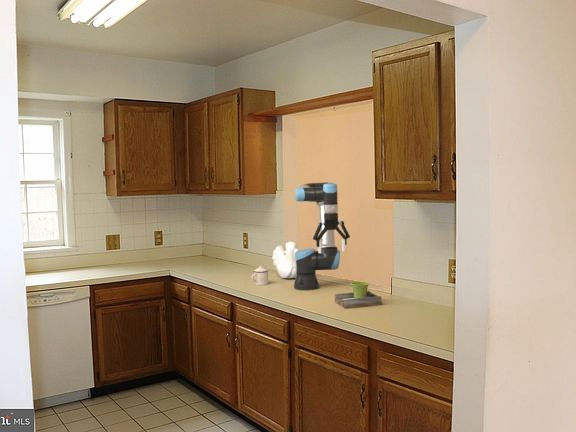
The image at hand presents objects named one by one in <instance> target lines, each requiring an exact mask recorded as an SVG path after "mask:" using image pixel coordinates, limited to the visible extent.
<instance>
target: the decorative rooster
mask: <svg viewBox="0 0 576 432" xmlns="http://www.w3.org/2000/svg"><path fill="white" fill-rule="evenodd" d="M298 251H300V250H299V248H298V246H297V244H296V242H294V241H288V242H286V243H285V250H284V247H283V245H278V246H276V247H275V249H274V250H273V252H272V257H271V258H272V263H273V266H274V267H275V268H276V271H277V274H278V275H279V277H280V278H282V279H296V275H297V273H296V253H297V252H298Z"/></svg>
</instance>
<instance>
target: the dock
mask: <svg viewBox="0 0 576 432" xmlns="http://www.w3.org/2000/svg"><path fill="white" fill-rule="evenodd" d="M334 303H335V304H337V305H338V306H340V307H342V308H343V309H345V310H347V309H348V310H349V309H355V308H356V309H357V308H364V307H365V308H366V307H367V308H368V307H375V306H381V305H382V296H381V295H377V294H375V293H373V292H371V291H370V290H367V295H366V298H356V299H354V294H353V292H346V293H345V292H344V293H334Z"/></svg>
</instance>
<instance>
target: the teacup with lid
mask: <svg viewBox="0 0 576 432" xmlns="http://www.w3.org/2000/svg"><path fill="white" fill-rule="evenodd" d="M251 280H252V282H254V285H255V286H266V285H269V270H268V269H267V268H265V267H263V265H259V267H257V268H256V269H254V270H253V274H252V275H251Z"/></svg>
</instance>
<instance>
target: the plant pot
mask: <svg viewBox="0 0 576 432" xmlns="http://www.w3.org/2000/svg"><path fill="white" fill-rule="evenodd" d="M350 285H351V287H352V293H353V294H354V299H356V298H366V295H367V291H368V287H369V285H370V283H369V282H368V281H352V282H350Z"/></svg>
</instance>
